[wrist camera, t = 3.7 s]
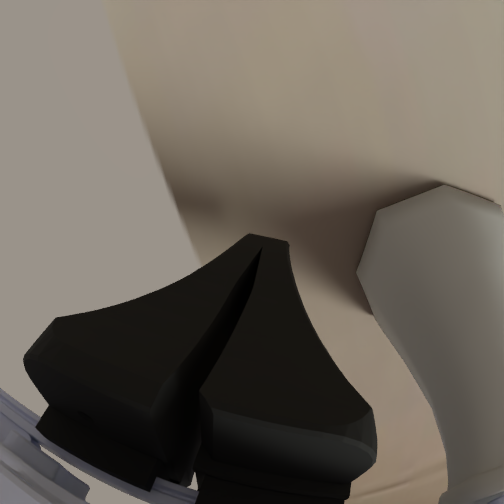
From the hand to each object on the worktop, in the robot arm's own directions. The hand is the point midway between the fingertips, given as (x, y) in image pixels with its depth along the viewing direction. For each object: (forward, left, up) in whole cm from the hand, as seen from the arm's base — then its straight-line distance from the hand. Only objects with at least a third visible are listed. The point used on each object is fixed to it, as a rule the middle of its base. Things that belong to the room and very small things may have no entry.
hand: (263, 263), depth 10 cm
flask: (0, -7, -3) cm, 8 cm away
